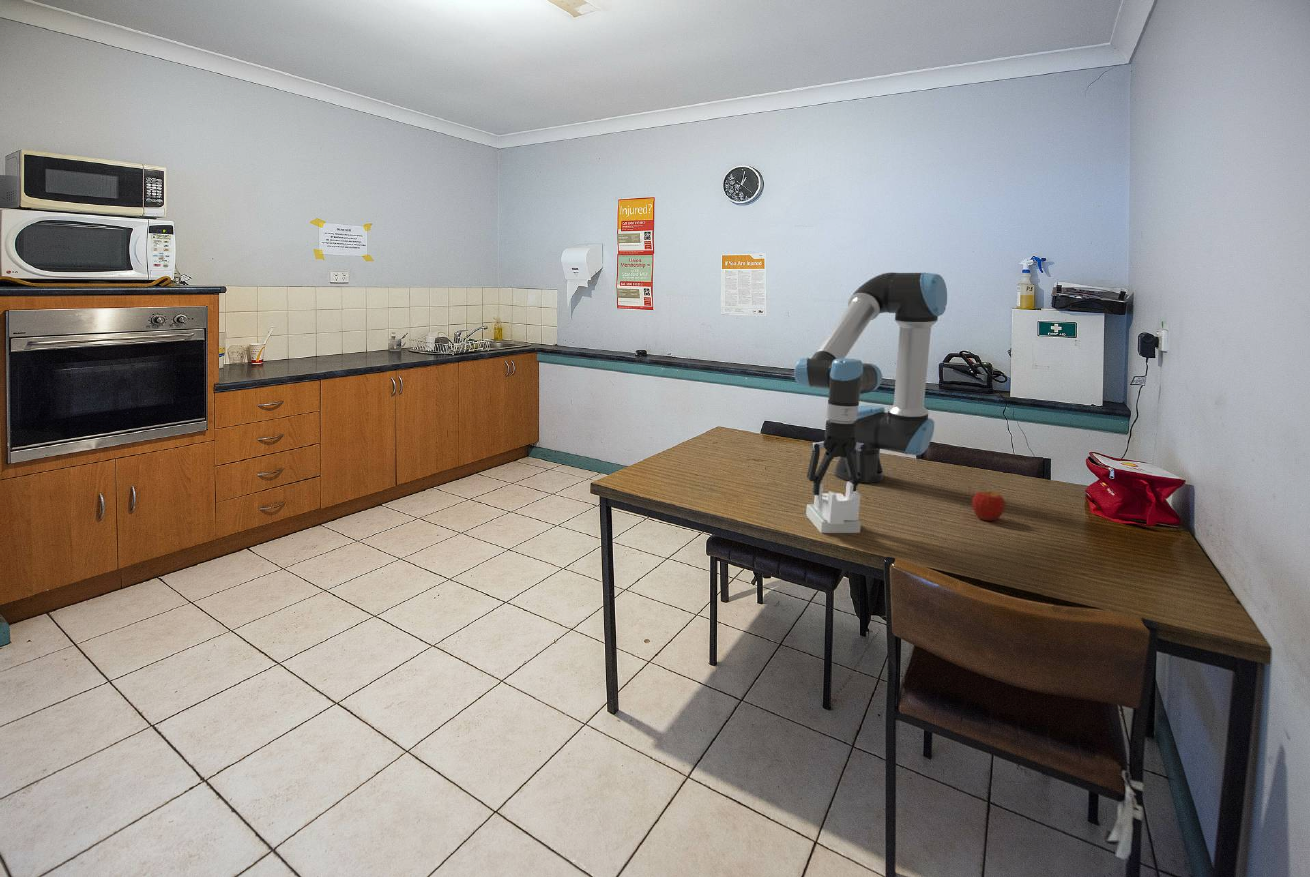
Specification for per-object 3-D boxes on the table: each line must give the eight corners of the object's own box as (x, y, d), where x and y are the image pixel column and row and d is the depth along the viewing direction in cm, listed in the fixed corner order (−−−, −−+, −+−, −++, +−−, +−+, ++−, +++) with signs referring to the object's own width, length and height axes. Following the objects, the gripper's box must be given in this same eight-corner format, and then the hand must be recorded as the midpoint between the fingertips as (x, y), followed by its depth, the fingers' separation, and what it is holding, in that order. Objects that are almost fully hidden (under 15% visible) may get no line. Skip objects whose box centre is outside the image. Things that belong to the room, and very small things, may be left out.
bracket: (857, 523, 163) (860, 494, 161) (829, 523, 163) (832, 494, 161) (839, 505, 176) (842, 478, 174) (813, 505, 175) (816, 478, 173)
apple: (997, 526, 173) (1002, 498, 171) (966, 518, 178) (970, 491, 176) (1005, 519, 179) (1010, 491, 177) (975, 511, 184) (979, 485, 182)
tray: (842, 514, 179) (843, 503, 178) (859, 532, 166) (861, 520, 165) (806, 514, 178) (807, 503, 177) (821, 532, 165) (822, 520, 164)
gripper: (806, 423, 161) (799, 511, 166) (886, 424, 162) (876, 512, 168) (798, 416, 168) (791, 501, 173) (874, 418, 170) (865, 502, 175)
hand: (832, 506), depth 171 cm, fingers closed on bracket, 7 cm apart
